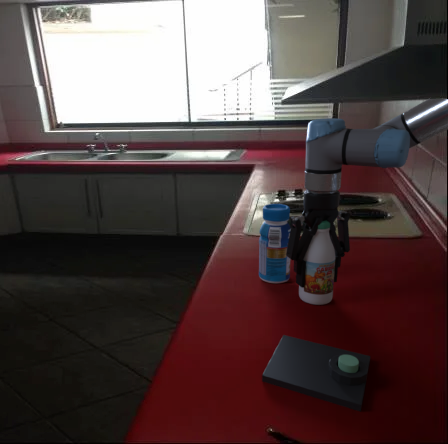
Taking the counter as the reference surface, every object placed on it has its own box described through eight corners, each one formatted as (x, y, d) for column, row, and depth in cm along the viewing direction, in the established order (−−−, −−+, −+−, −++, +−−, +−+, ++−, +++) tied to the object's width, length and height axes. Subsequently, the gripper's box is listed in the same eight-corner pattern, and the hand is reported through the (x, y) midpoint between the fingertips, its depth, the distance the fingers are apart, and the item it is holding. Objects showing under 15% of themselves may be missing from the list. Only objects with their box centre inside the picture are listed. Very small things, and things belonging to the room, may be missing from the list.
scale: (370, 362, 77) (371, 348, 76) (361, 412, 66) (362, 396, 65) (283, 340, 85) (283, 327, 85) (261, 381, 74) (262, 367, 73)
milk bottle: (292, 298, 102) (295, 220, 96) (309, 287, 107) (313, 212, 100) (321, 309, 96) (326, 227, 90) (338, 297, 101) (344, 218, 95)
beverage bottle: (251, 276, 114) (252, 206, 108) (273, 268, 119) (275, 200, 113) (274, 287, 108) (277, 213, 101) (297, 278, 112) (300, 207, 106)
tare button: (359, 364, 73) (360, 357, 72) (356, 375, 70) (357, 367, 70) (339, 359, 75) (340, 352, 74) (336, 370, 72) (337, 362, 71)
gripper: (352, 181, 99) (344, 270, 106) (271, 191, 95) (269, 282, 102) (373, 188, 92) (364, 282, 98) (287, 198, 88) (284, 295, 95)
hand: (316, 282), depth 100 cm, fingers closed on milk bottle, 8 cm apart
